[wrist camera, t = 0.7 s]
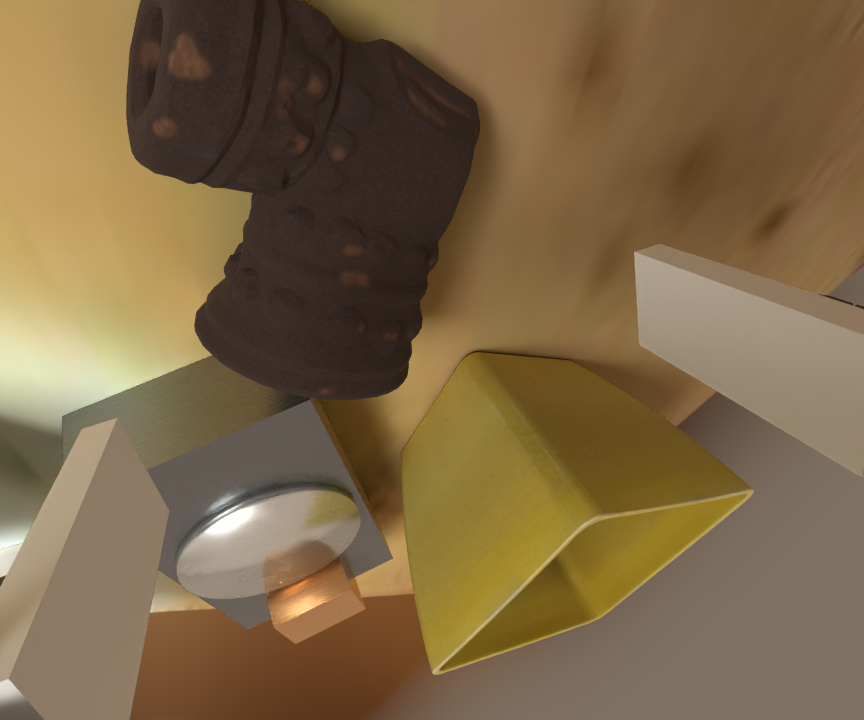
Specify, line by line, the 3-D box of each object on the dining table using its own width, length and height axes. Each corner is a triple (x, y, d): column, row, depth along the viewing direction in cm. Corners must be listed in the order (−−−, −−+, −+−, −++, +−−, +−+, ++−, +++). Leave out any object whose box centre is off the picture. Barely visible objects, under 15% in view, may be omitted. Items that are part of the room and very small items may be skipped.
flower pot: (508, 470, 61) (601, 622, 50) (350, 483, 49) (428, 682, 39) (617, 335, 51) (761, 489, 40) (450, 312, 39) (590, 518, 29)
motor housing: (62, 416, 32) (63, 560, 26) (282, 327, 34) (326, 442, 28) (233, 564, 50) (255, 666, 45) (369, 500, 53) (406, 590, 47)
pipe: (211, -75, 14) (115, 408, 20) (571, 115, 24) (436, 404, 30) (137, -87, 21) (80, 283, 26) (446, 68, 30) (354, 313, 36)
